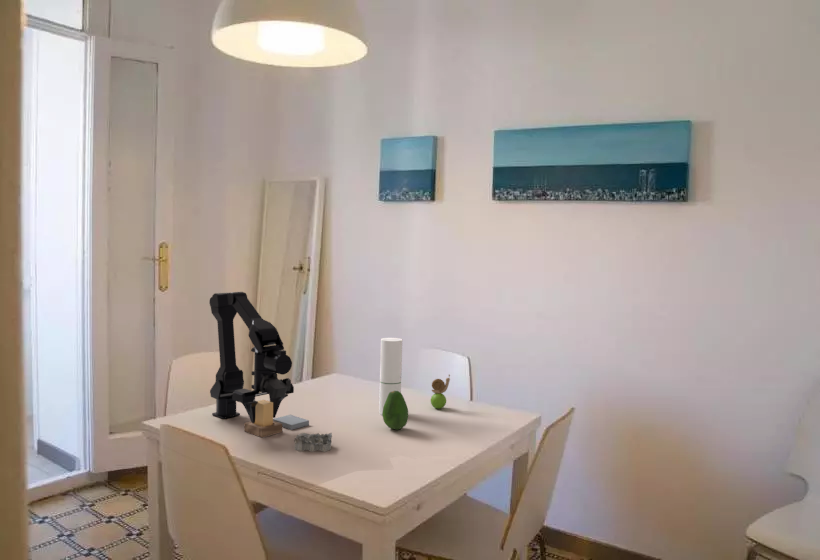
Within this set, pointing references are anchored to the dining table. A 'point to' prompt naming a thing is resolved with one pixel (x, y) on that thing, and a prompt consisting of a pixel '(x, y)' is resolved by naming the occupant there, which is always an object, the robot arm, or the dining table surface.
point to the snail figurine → (439, 393)
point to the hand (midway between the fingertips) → (263, 420)
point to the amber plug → (264, 413)
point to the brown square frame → (263, 429)
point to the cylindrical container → (390, 368)
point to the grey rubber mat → (292, 421)
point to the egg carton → (313, 442)
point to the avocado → (395, 411)
